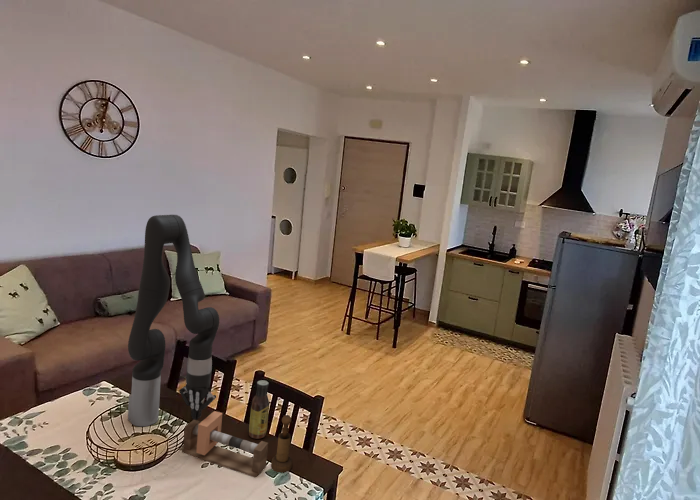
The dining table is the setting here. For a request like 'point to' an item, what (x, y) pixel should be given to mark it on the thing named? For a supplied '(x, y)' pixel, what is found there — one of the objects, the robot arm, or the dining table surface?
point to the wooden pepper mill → (283, 449)
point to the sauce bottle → (259, 411)
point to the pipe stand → (227, 451)
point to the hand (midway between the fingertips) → (196, 418)
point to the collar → (208, 432)
